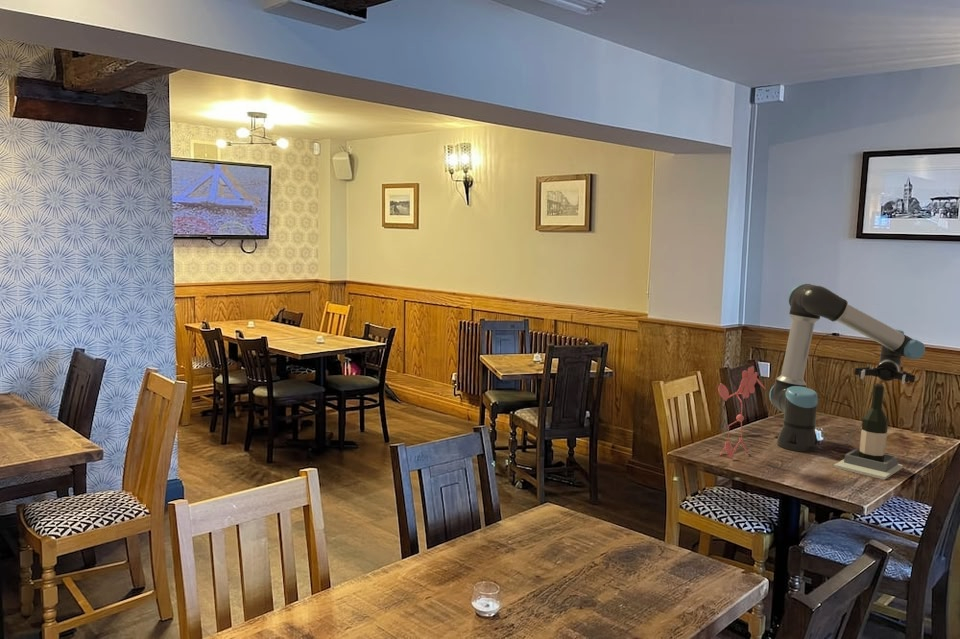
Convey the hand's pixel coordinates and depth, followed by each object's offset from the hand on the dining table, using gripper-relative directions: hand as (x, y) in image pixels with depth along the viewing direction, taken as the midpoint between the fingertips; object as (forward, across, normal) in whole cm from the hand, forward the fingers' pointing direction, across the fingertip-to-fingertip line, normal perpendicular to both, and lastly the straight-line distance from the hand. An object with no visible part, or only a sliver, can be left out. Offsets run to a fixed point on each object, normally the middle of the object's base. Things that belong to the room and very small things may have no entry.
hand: (882, 377), depth 267 cm
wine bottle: (+10, 0, -31) cm, 33 cm away
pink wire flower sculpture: (+32, +40, -32) cm, 61 cm away
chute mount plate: (+12, 0, -32) cm, 34 cm away
